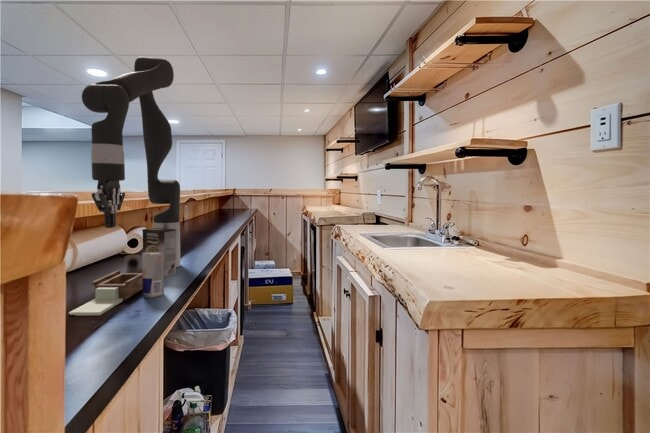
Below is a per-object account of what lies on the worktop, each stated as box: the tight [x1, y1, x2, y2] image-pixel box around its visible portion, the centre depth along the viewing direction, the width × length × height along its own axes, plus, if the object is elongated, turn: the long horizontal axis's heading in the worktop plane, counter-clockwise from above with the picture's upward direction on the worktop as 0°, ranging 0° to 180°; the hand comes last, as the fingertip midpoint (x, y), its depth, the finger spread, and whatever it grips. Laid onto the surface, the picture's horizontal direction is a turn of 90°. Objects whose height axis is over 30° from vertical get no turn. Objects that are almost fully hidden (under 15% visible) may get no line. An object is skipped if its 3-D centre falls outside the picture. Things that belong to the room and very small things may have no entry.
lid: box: [68, 287, 124, 317], centre depth 91 cm, size 11×7×4 cm, turn 3°
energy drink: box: [141, 252, 165, 299], centre depth 102 cm, size 5×5×12 cm
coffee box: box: [142, 227, 177, 278], centre depth 126 cm, size 9×6×16 cm
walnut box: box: [91, 269, 143, 301], centre depth 104 cm, size 14×9×5 cm, turn 4°
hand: (110, 227), depth 97 cm, fingers closed
